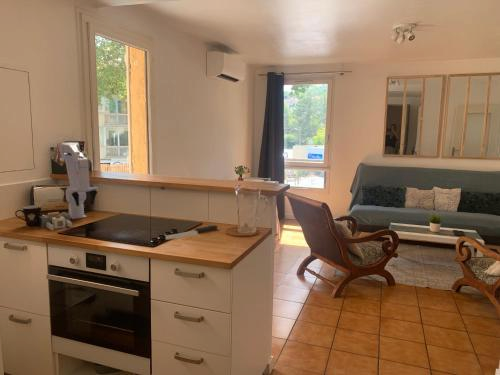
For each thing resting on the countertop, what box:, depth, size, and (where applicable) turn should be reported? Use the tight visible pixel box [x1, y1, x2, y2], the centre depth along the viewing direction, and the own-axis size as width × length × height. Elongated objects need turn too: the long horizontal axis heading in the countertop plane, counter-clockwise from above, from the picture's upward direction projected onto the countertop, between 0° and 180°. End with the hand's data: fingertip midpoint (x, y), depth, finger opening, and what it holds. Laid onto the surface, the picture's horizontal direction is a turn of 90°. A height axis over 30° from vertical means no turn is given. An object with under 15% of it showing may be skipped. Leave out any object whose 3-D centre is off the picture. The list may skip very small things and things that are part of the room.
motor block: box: [38, 211, 71, 229], centre depth 205 cm, size 6×14×6 cm, turn 133°
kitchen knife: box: [165, 224, 218, 240], centre depth 188 cm, size 29×3×5 cm
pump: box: [52, 216, 66, 230], centre depth 200 cm, size 6×5×6 cm
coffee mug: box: [14, 205, 42, 228], centre depth 204 cm, size 12×9×10 cm
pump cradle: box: [45, 220, 73, 231], centre depth 200 cm, size 9×11×2 cm
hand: (85, 205), depth 209 cm, fingers open, 7 cm apart
